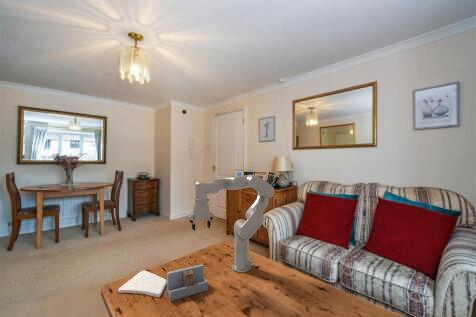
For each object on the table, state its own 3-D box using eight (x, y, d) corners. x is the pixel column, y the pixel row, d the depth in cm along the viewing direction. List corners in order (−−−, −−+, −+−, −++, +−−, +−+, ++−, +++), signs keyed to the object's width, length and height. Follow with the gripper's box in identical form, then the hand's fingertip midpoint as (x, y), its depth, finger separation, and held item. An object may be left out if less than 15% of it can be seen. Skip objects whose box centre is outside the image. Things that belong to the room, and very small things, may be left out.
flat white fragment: (116, 296, 111) (158, 301, 106) (116, 289, 111) (158, 294, 106) (142, 273, 132) (178, 276, 127) (141, 268, 132) (178, 271, 127)
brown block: (190, 283, 116) (191, 269, 117) (193, 289, 111) (193, 274, 111) (182, 285, 114) (182, 271, 115) (185, 291, 109) (185, 276, 109)
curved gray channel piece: (202, 281, 122) (202, 264, 123) (207, 290, 114) (208, 271, 114) (167, 290, 113) (167, 272, 113) (170, 301, 105) (170, 281, 105)
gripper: (211, 199, 139) (211, 225, 139) (186, 202, 131) (186, 229, 130) (216, 201, 132) (216, 228, 132) (189, 204, 124) (189, 233, 124)
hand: (201, 228), depth 131 cm, fingers open, 9 cm apart
